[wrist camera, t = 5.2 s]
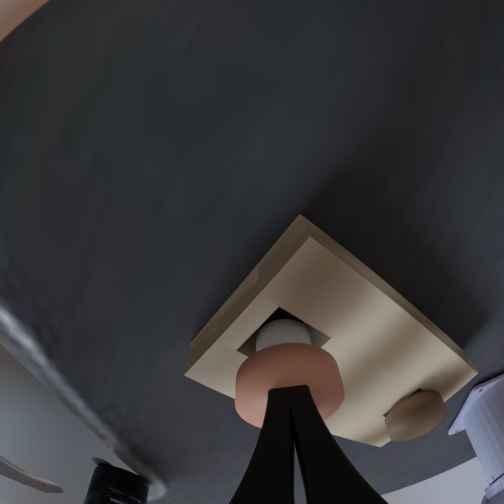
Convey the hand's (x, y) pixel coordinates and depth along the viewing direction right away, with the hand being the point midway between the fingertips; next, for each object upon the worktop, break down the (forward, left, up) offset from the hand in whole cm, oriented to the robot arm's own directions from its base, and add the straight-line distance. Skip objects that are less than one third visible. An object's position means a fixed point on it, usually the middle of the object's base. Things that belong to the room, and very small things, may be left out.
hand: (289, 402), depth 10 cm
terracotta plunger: (0, 0, -4) cm, 4 cm away
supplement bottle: (+20, +23, -6) cm, 31 cm away
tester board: (-4, +4, -6) cm, 8 cm away
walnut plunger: (-8, +8, -5) cm, 12 cm away
